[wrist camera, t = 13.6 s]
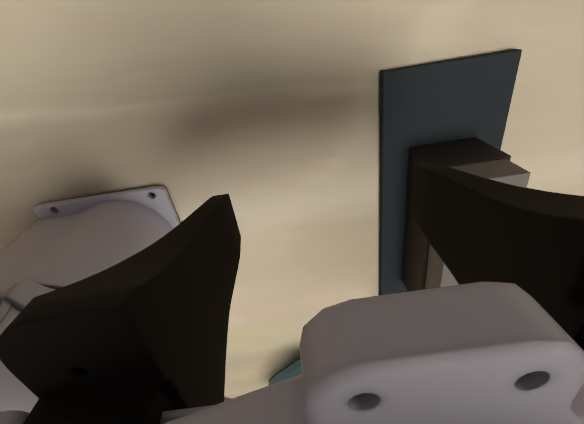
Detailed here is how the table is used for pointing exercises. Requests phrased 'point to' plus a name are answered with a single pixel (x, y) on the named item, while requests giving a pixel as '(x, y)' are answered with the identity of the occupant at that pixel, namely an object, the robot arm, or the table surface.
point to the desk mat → (434, 130)
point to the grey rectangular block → (465, 157)
